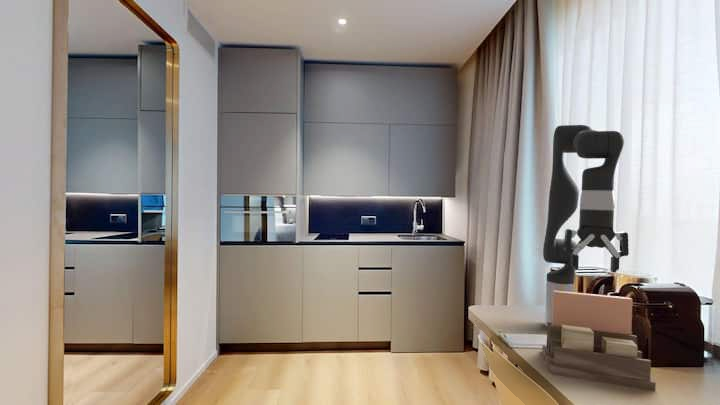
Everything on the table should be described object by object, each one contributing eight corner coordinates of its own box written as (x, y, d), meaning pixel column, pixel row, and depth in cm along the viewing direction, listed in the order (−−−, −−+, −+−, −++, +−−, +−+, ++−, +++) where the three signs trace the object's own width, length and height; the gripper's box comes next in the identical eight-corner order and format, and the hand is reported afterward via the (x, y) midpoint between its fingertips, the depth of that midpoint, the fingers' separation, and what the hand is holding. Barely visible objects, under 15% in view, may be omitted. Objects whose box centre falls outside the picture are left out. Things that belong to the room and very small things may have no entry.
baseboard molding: (610, 354, 119) (587, 340, 131) (610, 345, 119) (587, 331, 131) (512, 351, 119) (498, 337, 131) (512, 342, 119) (498, 329, 131)
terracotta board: (550, 349, 115) (552, 290, 115) (627, 360, 109) (630, 297, 109) (551, 351, 113) (554, 291, 113) (630, 362, 107) (632, 299, 107)
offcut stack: (560, 359, 108) (562, 324, 108) (630, 370, 102) (632, 333, 102) (563, 365, 104) (564, 329, 104) (636, 376, 99) (637, 338, 98)
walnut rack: (542, 351, 118) (543, 319, 118) (632, 364, 111) (633, 330, 111) (550, 373, 103) (551, 337, 103) (655, 390, 96) (656, 351, 95)
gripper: (623, 209, 100) (621, 270, 100) (563, 207, 104) (560, 265, 104) (634, 209, 93) (631, 275, 93) (568, 207, 97) (566, 270, 97)
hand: (594, 270), depth 99 cm, fingers open, 8 cm apart
